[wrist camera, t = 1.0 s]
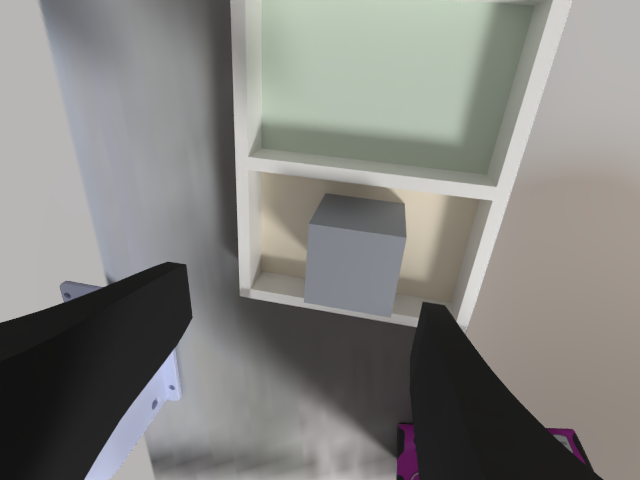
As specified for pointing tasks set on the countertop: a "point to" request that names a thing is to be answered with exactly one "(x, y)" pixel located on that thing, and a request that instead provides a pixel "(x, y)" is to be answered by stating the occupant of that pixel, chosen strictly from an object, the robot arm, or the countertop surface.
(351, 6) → the two-bin tray
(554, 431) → the candy bar box
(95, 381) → the robot arm
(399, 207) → the slate block
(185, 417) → the countertop surface
